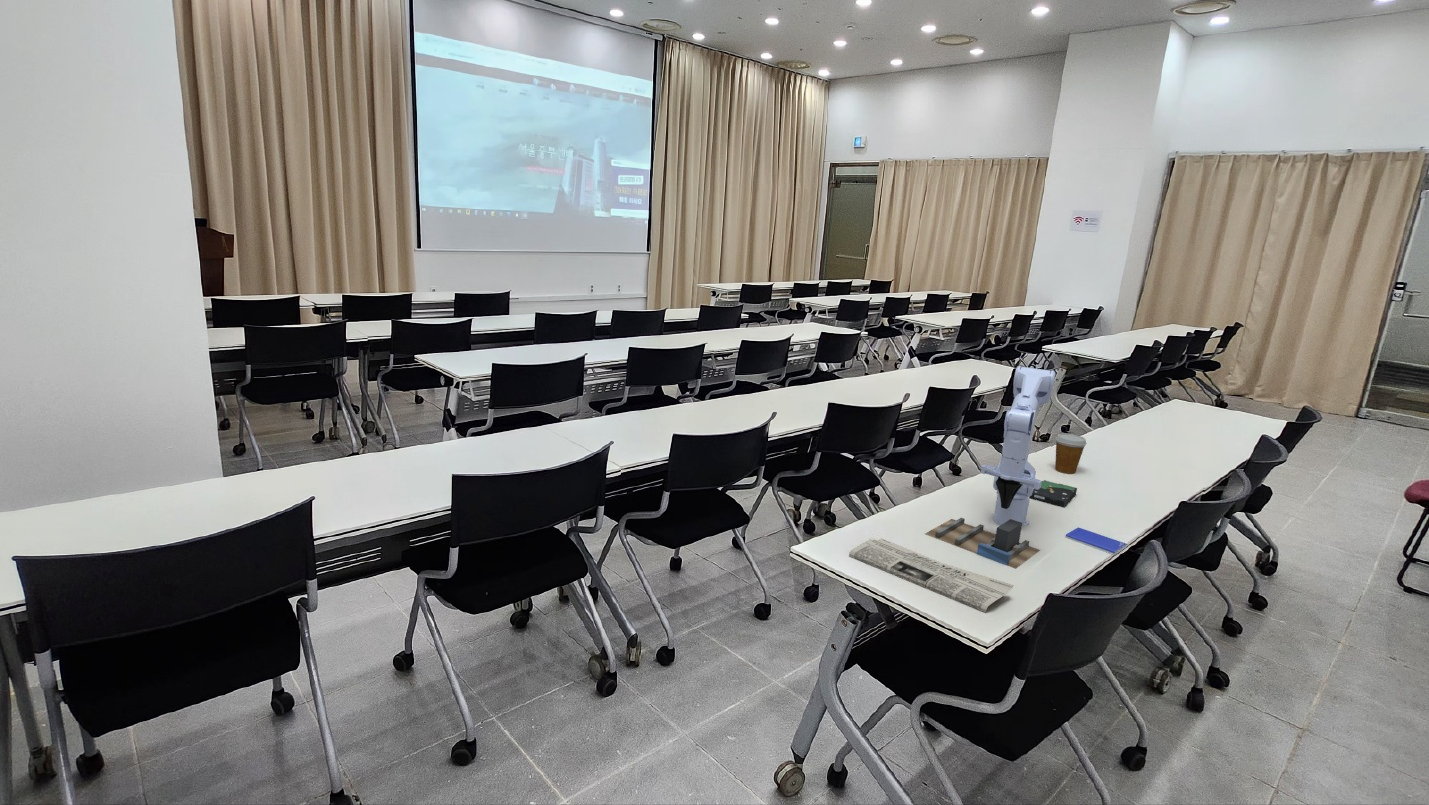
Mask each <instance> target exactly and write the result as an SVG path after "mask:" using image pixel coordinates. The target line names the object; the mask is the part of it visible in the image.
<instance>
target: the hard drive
mask: <svg viewBox="0 0 1429 805" xmlns="http://www.w3.org/2000/svg"><path fill="white" fill-rule="evenodd" d="M1064 538H1066V539H1068V540H1071V541H1073V542H1076V543H1079V544H1082V545H1085V546H1087V547H1090V548H1093V549H1096V550H1098V551H1101V552H1104V553H1107V554H1110V555H1113V556H1116V555H1118V553H1120V552H1122V551H1123V550H1124V549H1126V548H1127V547H1128V543H1125V542H1123V541H1119V540H1118V539H1114V538H1112V537H1108V536H1105V535H1104V534H1099V533H1096V532H1094V531H1091V530H1087V529H1085V528H1081V527H1079V526H1077V527H1076V528H1074V529H1073V530H1071V531H1070V532H1067V533H1066V534H1065V537H1064Z"/></svg>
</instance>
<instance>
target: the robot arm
mask: <svg viewBox="0 0 1429 805" xmlns="http://www.w3.org/2000/svg"><path fill="white" fill-rule="evenodd" d="M1055 380H1056V372H1055V370H1049V369H1042V368H1041V369H1040V368H1033V367H1028V366H1027V367H1026V366H1022V365H1018V366H1017V367H1016V369H1015V372H1014V377H1013V388H1012V389H1013V392H1012V393H1013V398H1014V399H1013V402H1012V404H1011V408H1010V409H1007V411H1006V413H1005V419H1004V422H1003V423H1004V424H1003V425H1004V426H1003V427H1004V431H1003V444H1002V450H1001V455H1000V461H999V463H998V464H997V466H992V465H988V464H982V465H981V468H980V474H983V475H985V474H986V475H989V476H992V477H994V478H993V483H992V487H993V489H994V490H995V491H996V494H997V496H996V501H995V506H994V507H995V508H994V511H993V512H994V513H993V518H992V519H993V521H994V523H996V524H997V525H999V526H1000V525H1002V524H1003V523H1005V522H1007V521H1008V520H1010V519H1012V520H1015V521H1018V522H1021V523H1022V526H1023V525H1024V526H1027V525H1029V524H1030V521H1028V520H1027V516H1028V511H1029V506H1030V504H1029V503H1030V499H1029V497H1030V496H1032V492H1033V489H1037V490H1038V489H1040V488H1041V483H1042V481H1043V480H1042V479H1037V478H1036V473H1037V470H1036V468H1035V467H1034V466H1033V465H1032V464H1031V463H1030V462H1029V461H1028V459H1029V453H1030V449H1031V443H1032V439H1033V435H1034V434H1033V433H1034V429H1035V424H1036V420H1037V415H1038V412H1039V410H1040V408H1041V406H1042V405H1044V404H1047V403H1050V399H1051V397H1052V392H1053V390H1054V386H1055Z"/></svg>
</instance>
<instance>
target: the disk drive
mask: <svg viewBox="0 0 1429 805" xmlns="http://www.w3.org/2000/svg"><path fill="white" fill-rule="evenodd" d="M1041 481H1042V483H1041V488H1040V489H1038V490H1037V489H1034V488H1033V492H1032V496H1030V497H1028V499H1029V500H1030V499H1031V500H1034V501H1037V502H1041V503H1043V504H1048V505H1052V506H1056V507H1060V508H1063V509H1064V508H1066V507H1067V506H1068V504H1069V503H1070V502H1071V501H1072V500H1073V498H1075V497H1076V495H1077V492H1078V488H1077V487H1074V486H1070V485H1066V484H1062V483H1057V482H1053V481H1049V480H1046V479H1044V480H1041Z"/></svg>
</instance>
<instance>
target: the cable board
mask: <svg viewBox="0 0 1429 805" xmlns="http://www.w3.org/2000/svg"><path fill="white" fill-rule="evenodd" d="M984 528H985V525H984V524H978V525H977V526H973V525H970V524H968V523H965V518H963V517H959V518H958V519H957V520H956V519H953V518H950V519H949V520H947V521H945V522H944V523H942V524H940V525H938V526H936V527H933V529H931V530H929V531H927V532H925V533H924V535H926V536H928V537H931V538H934V539H935V540H939V541H941V542H944V543H946V544H950V545H951V546H955V547H957V548H960V549H962V550H965V551H969V552H971V553H973V554H976V555H978V556H982V557H983V558H987V559H989V560H992V561H994V562H997V563H1000V564H1002V565H1005V566H1007V567H1010V568H1013V569H1017V568H1019V567H1020V566H1022V565H1023V564H1024V563H1025V562H1027V561H1028V560H1029V559H1031V558H1032V557H1034V556H1035V555H1036V554H1037V553H1039V552H1040V551H1041V549H1038V548H1036V547H1032V546H1031V545H1030V540H1027V539H1024V540H1023V541H1022V542H1019V545H1015V546H1013V549H1012V550H1010V551H1009V552H1008V553H1007V552H1005V551H1002V550H999V549H997V548H994V542H995V536H996V533H993V532H990V531H988V530H985V529H984Z"/></svg>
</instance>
